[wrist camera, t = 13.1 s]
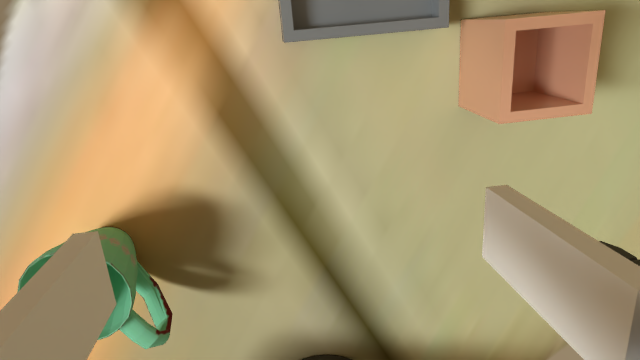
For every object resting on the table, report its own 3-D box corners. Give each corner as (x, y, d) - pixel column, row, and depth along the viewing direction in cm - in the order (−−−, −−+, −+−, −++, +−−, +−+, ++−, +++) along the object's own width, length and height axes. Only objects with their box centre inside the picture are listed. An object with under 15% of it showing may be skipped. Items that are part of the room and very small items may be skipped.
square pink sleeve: (535, 97, 49) (591, 113, 41) (458, 106, 49) (499, 123, 40) (543, 12, 46) (605, 10, 38) (460, 19, 46) (505, 19, 37)
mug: (45, 248, 49) (-7, 303, 39) (102, 188, 47) (62, 229, 38) (153, 321, 53) (129, 385, 44) (208, 268, 52) (195, 323, 42)
